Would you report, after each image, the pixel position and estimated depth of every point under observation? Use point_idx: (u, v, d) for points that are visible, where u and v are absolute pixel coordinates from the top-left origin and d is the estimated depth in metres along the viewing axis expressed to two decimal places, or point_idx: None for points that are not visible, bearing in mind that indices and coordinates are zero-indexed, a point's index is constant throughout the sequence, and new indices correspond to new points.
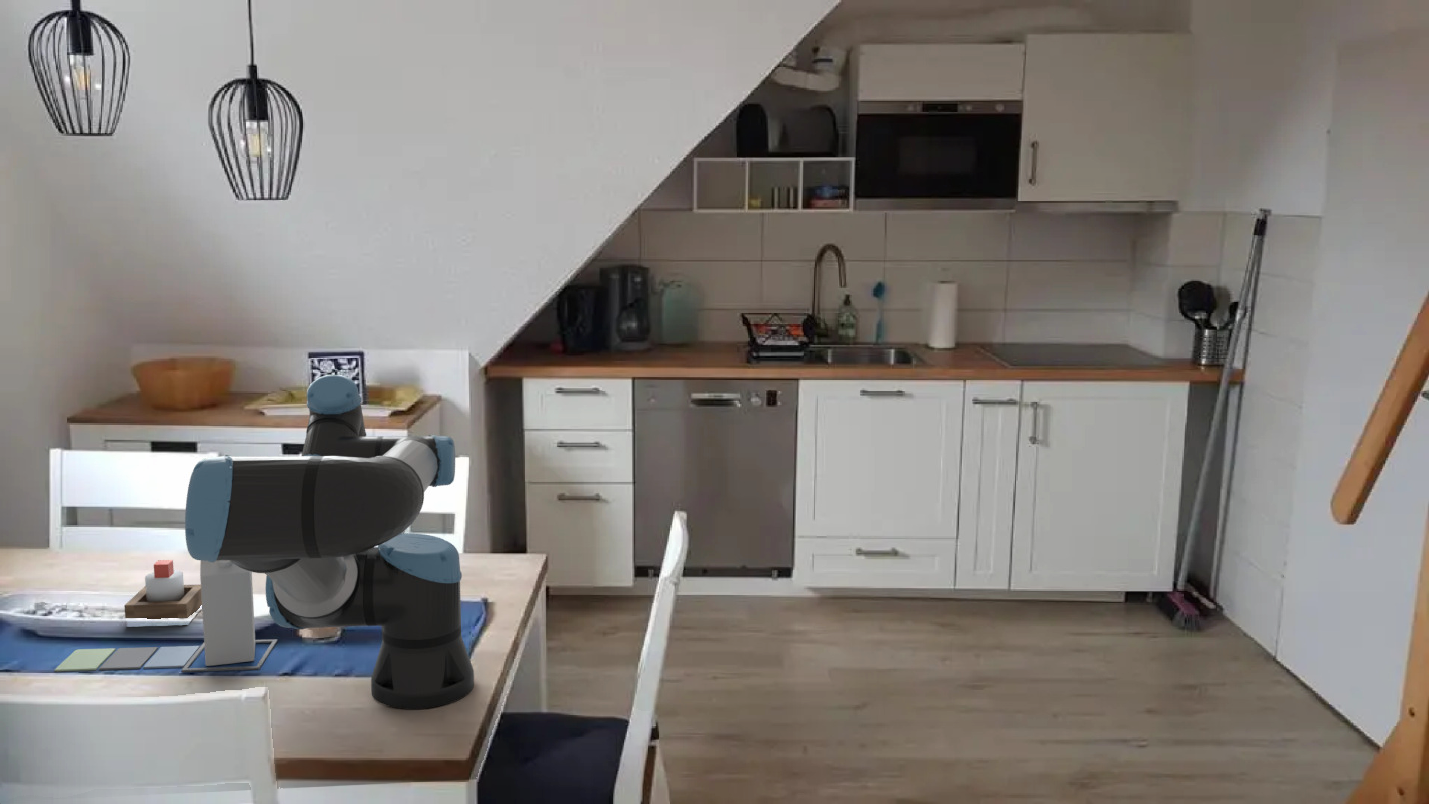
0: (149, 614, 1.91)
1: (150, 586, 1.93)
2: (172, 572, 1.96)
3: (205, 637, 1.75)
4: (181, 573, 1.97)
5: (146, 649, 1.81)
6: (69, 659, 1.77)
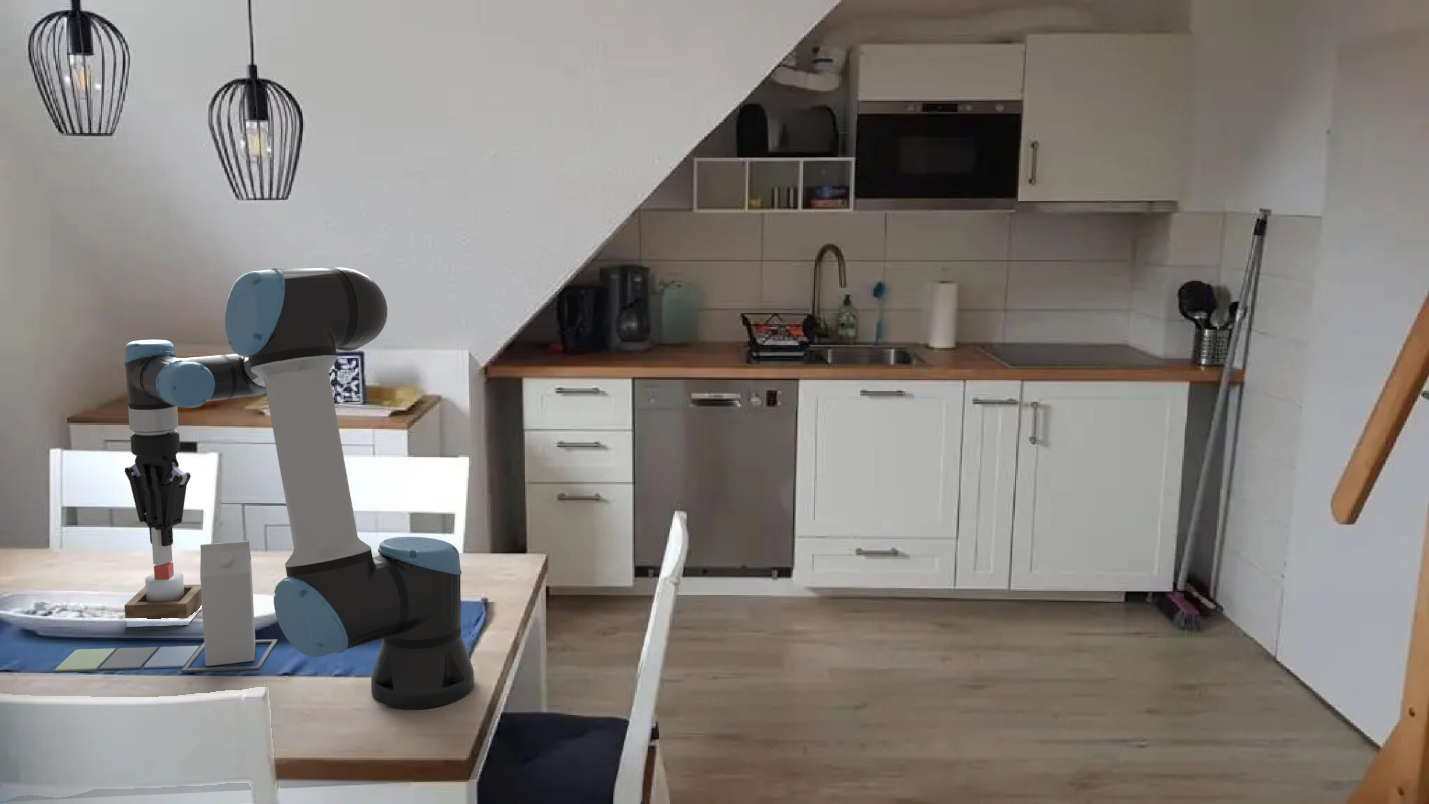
0: (149, 614, 1.91)
1: (150, 588, 1.93)
2: (172, 574, 1.96)
3: (205, 637, 1.75)
4: (181, 575, 1.97)
5: (146, 649, 1.81)
6: (69, 659, 1.77)
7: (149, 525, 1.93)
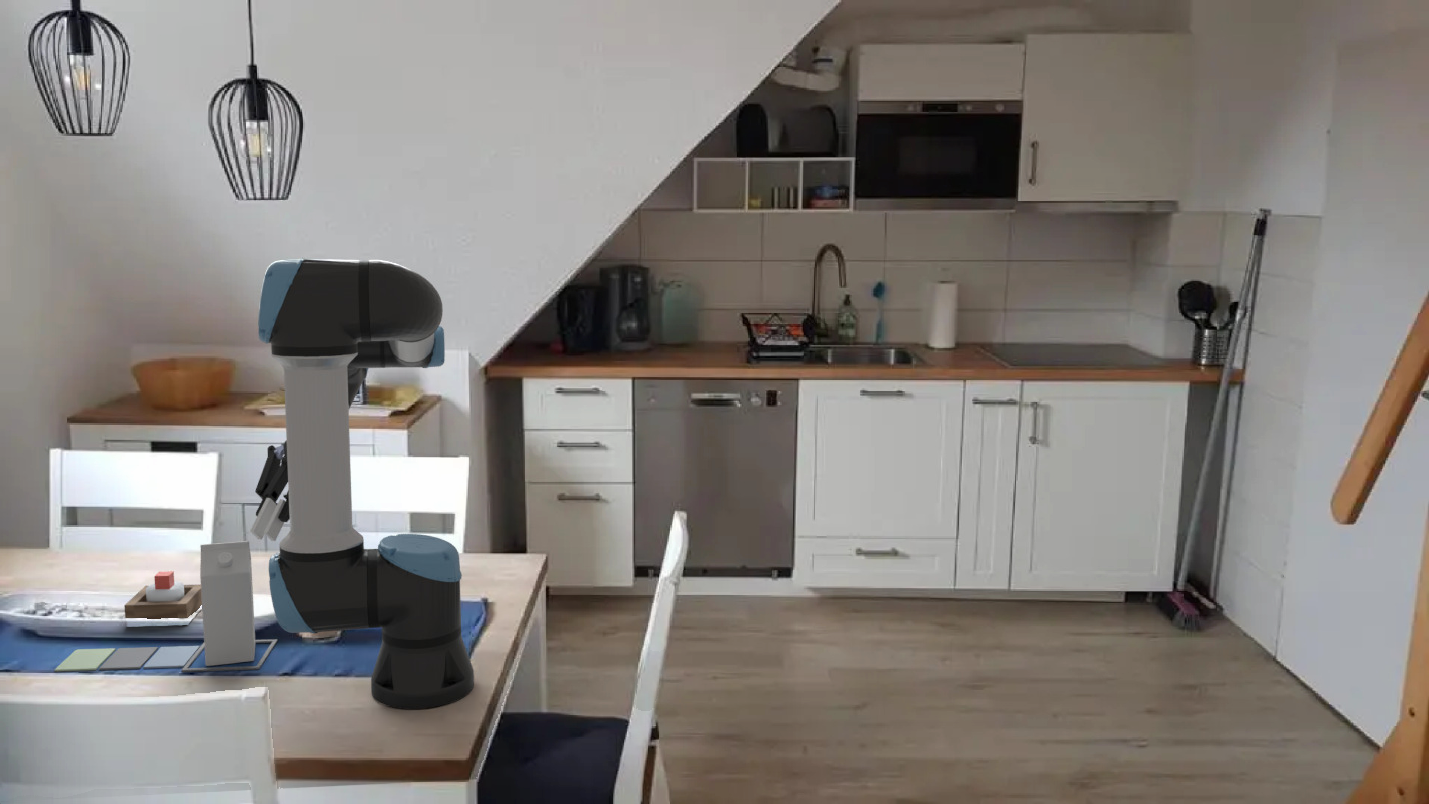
0: (149, 614, 1.91)
1: (150, 598, 1.93)
2: (173, 583, 1.96)
3: (205, 637, 1.75)
4: (182, 584, 1.97)
5: (146, 649, 1.81)
6: (69, 659, 1.77)
7: (265, 495, 1.89)
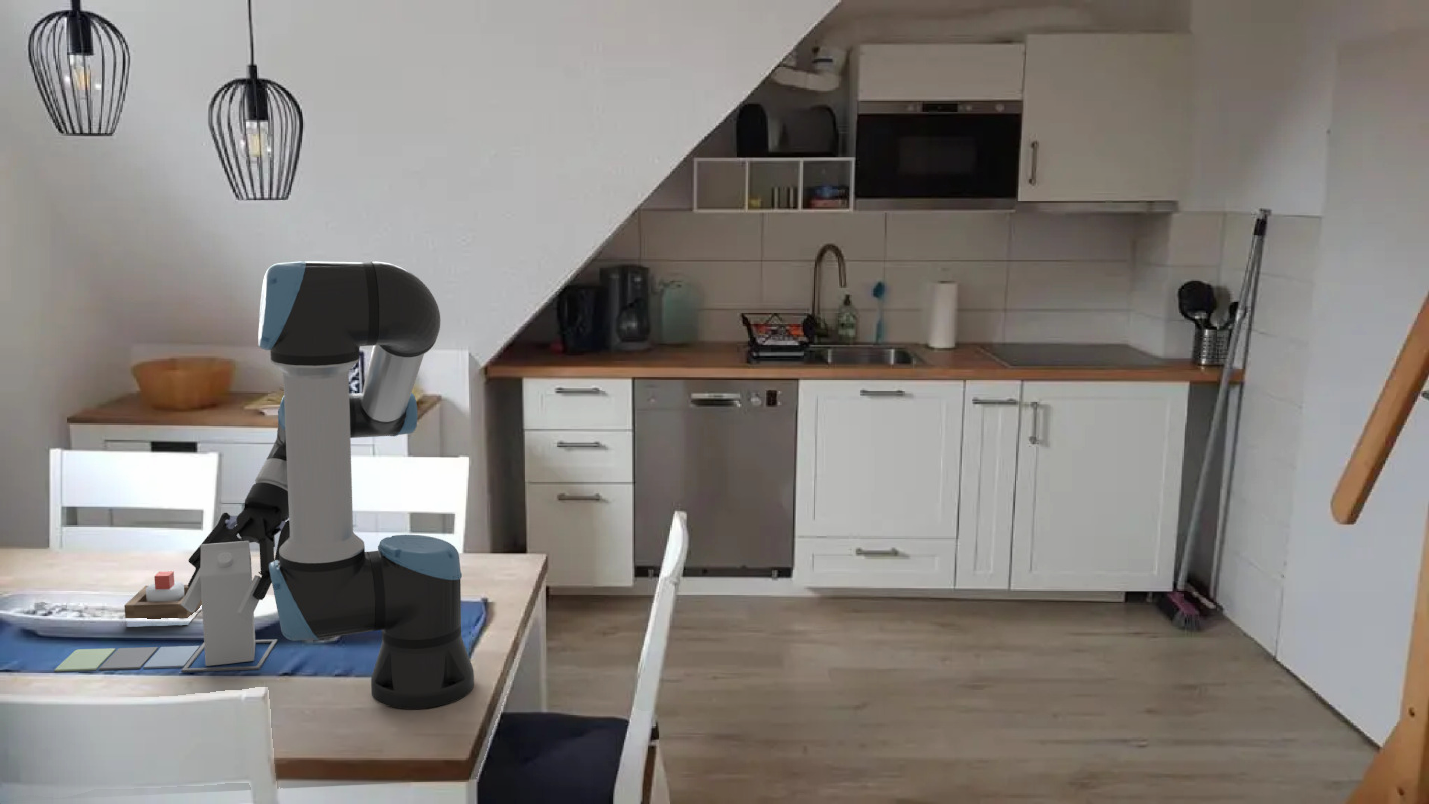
0: (149, 614, 1.91)
1: (150, 598, 1.93)
2: (173, 583, 1.96)
3: (205, 637, 1.75)
4: (182, 584, 1.97)
5: (146, 649, 1.81)
6: (69, 659, 1.77)
7: (198, 565, 1.80)
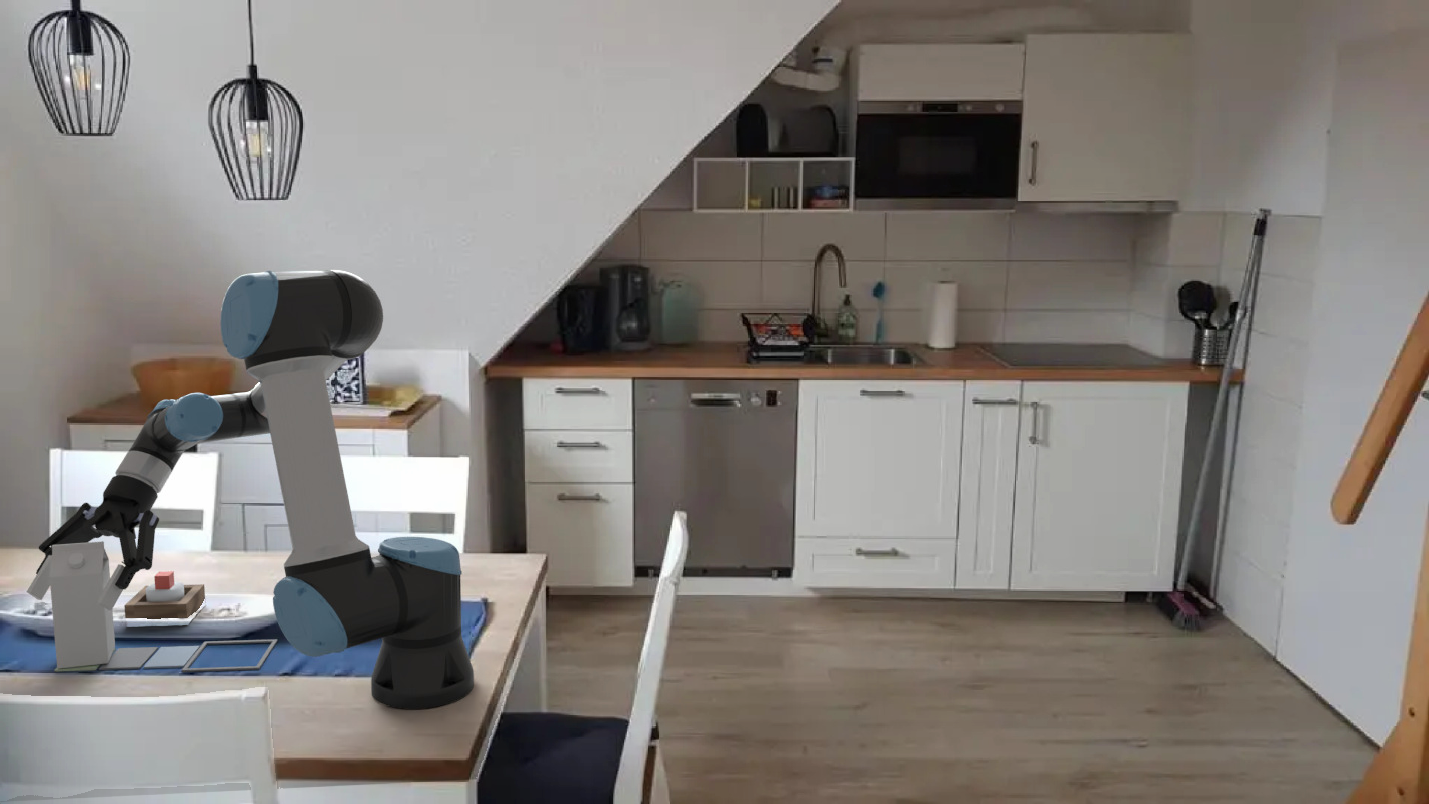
0: (149, 614, 1.91)
1: (150, 598, 1.93)
2: (173, 583, 1.96)
3: (56, 639, 1.72)
4: (182, 584, 1.97)
5: (146, 649, 1.81)
6: None
7: (47, 552, 1.78)
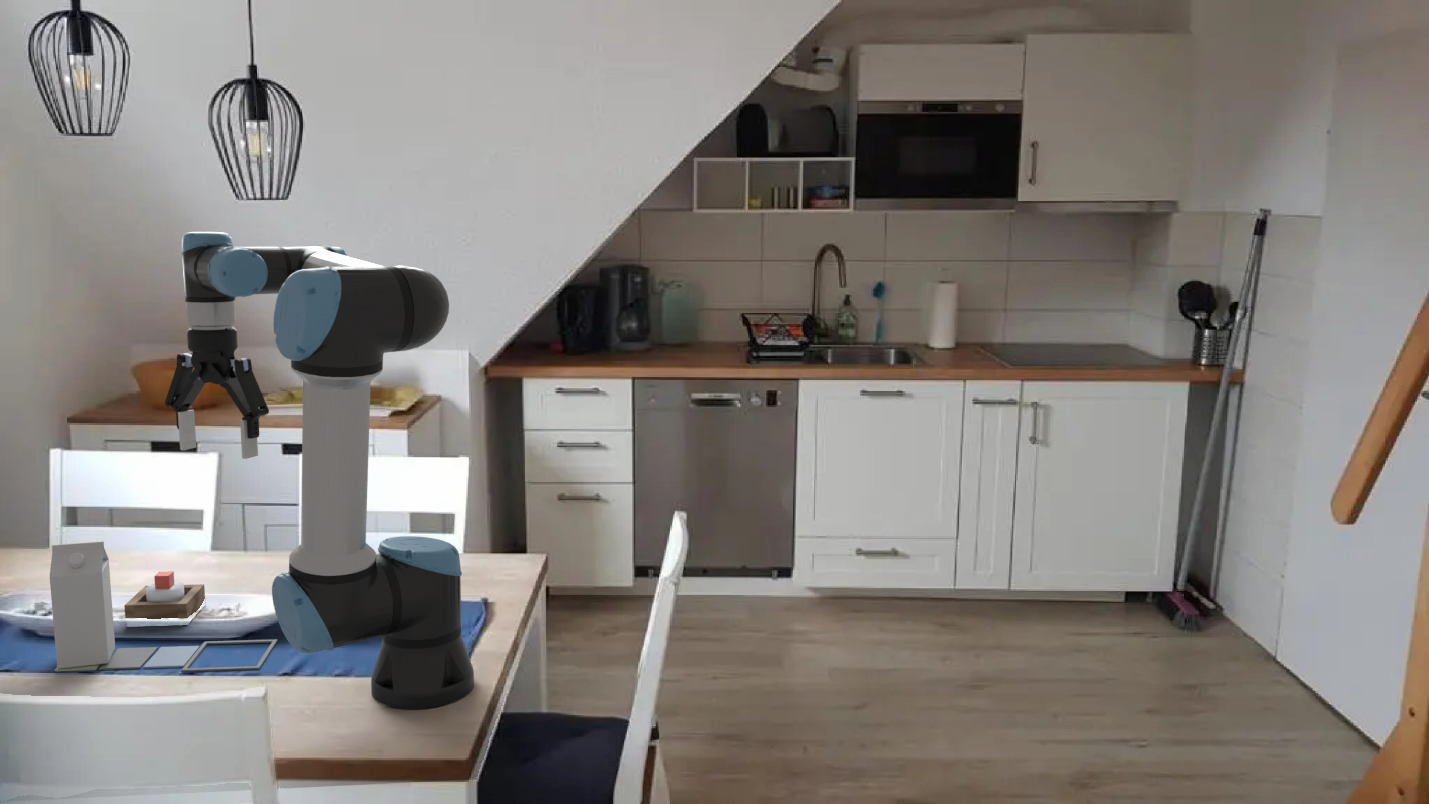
0: (149, 614, 1.91)
1: (150, 598, 1.93)
2: (173, 583, 1.96)
3: (56, 639, 1.72)
4: (182, 584, 1.97)
5: (146, 649, 1.81)
6: None
7: (175, 409, 1.88)
